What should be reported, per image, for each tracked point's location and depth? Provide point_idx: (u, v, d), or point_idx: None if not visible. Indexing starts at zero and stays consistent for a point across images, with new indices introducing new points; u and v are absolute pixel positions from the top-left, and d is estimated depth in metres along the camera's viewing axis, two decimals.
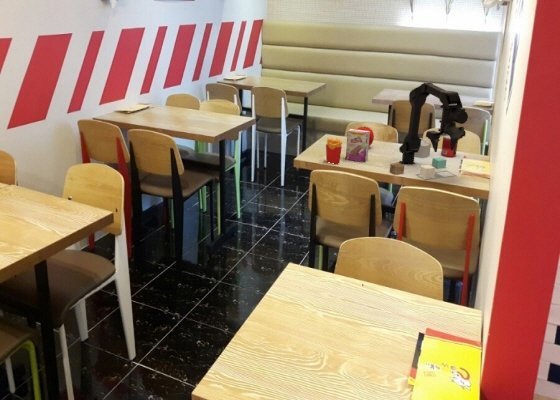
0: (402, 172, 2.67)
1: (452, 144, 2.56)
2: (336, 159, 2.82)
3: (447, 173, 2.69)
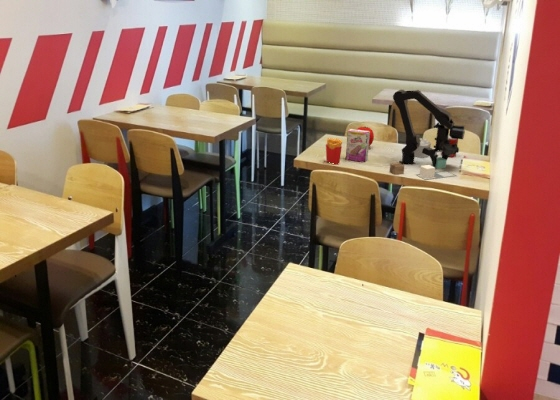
0: (402, 172, 2.67)
1: None
2: (336, 159, 2.82)
3: (447, 173, 2.69)
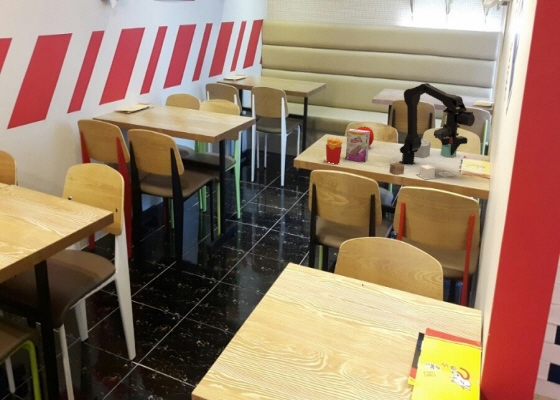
0: (402, 172, 2.67)
1: None
2: (336, 159, 2.82)
3: (447, 173, 2.69)
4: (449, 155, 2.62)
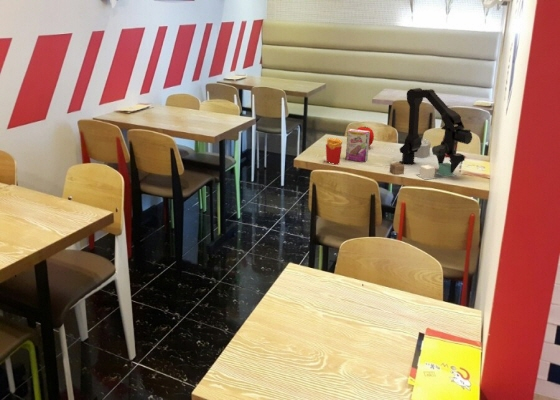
0: (402, 172, 2.67)
1: None
2: (336, 159, 2.82)
3: None
4: (446, 174, 2.65)
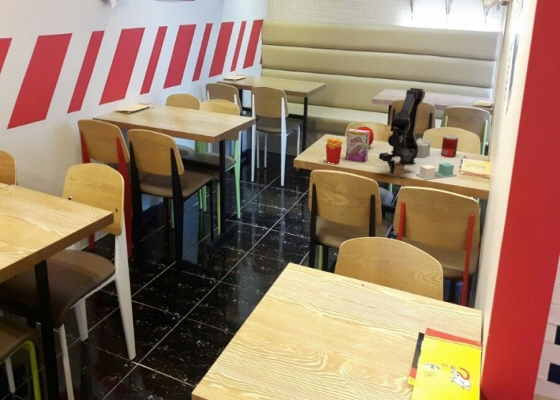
0: (402, 172, 2.67)
1: None
2: (336, 159, 2.82)
3: None
4: (446, 174, 2.65)
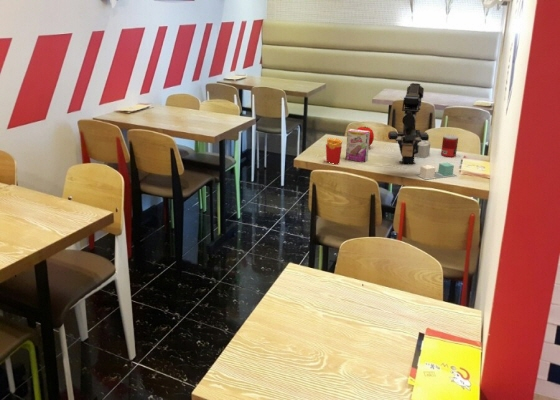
0: (410, 153, 2.61)
1: None
2: (336, 159, 2.82)
3: None
4: (446, 174, 2.65)
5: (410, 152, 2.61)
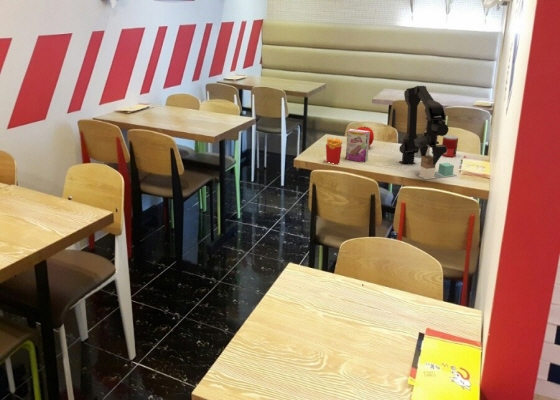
0: (425, 165, 2.60)
1: None
2: (336, 159, 2.82)
3: None
4: (446, 174, 2.65)
5: (425, 164, 2.60)
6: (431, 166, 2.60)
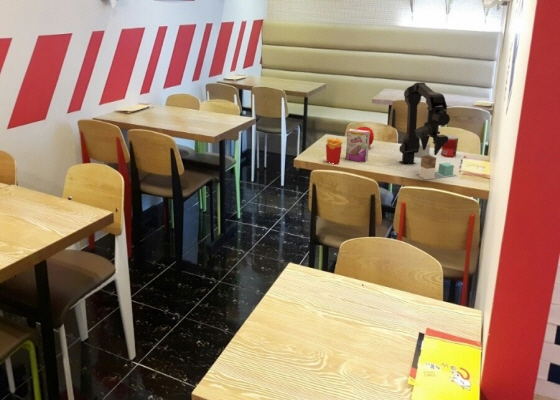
0: (425, 165, 2.60)
1: None
2: (336, 159, 2.82)
3: None
4: (446, 174, 2.65)
5: (425, 164, 2.60)
6: (431, 166, 2.60)
